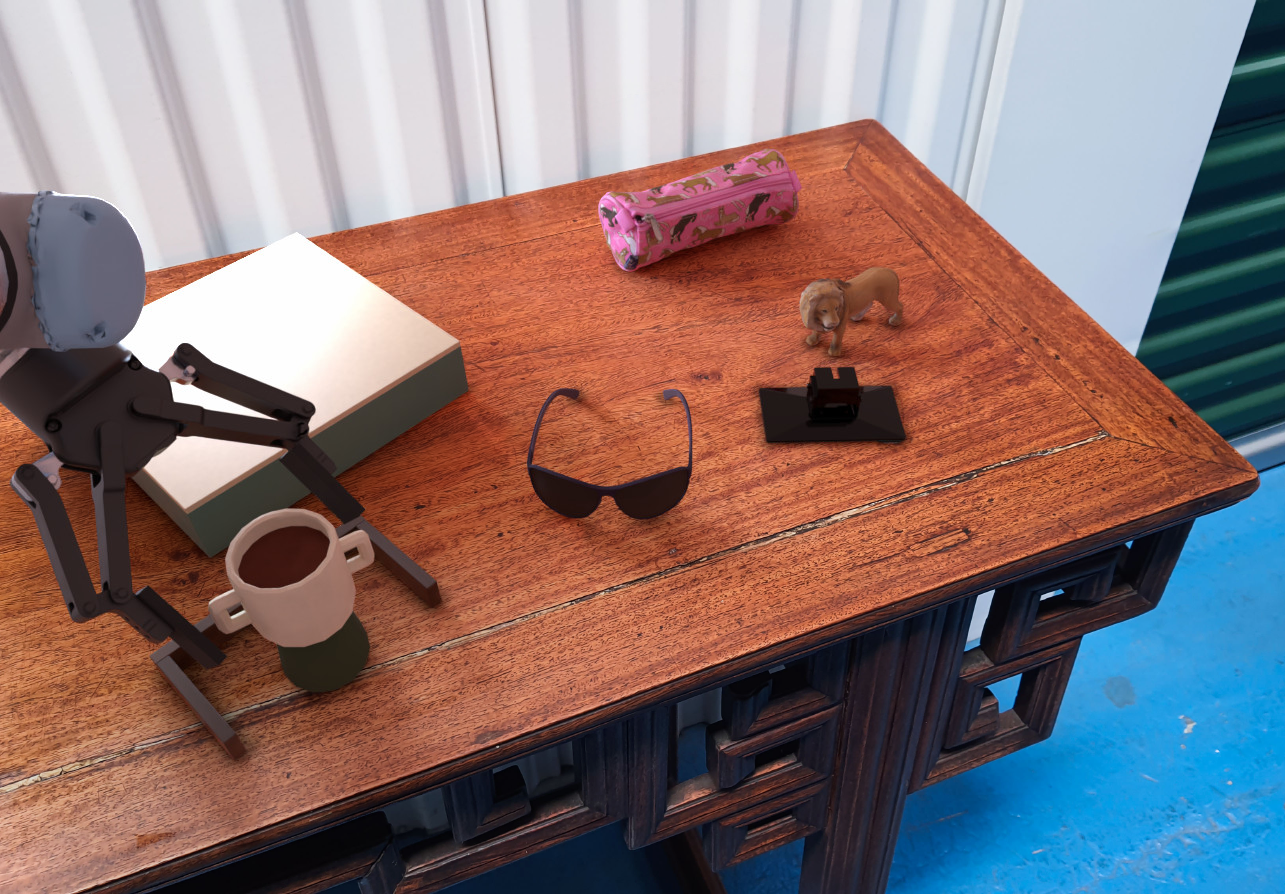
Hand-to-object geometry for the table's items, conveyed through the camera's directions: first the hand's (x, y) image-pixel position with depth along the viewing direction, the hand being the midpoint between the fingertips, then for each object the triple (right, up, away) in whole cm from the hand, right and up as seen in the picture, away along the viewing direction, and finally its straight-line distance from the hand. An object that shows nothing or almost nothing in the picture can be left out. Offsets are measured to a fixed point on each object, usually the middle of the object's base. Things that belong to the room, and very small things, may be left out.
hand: (290, 586), depth 67 cm
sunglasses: (+21, +8, +20) cm, 30 cm away
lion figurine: (+44, +20, +31) cm, 57 cm away
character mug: (+1, -6, +6) cm, 9 cm away
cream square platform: (-11, +14, +26) cm, 31 cm away
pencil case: (+30, +32, +43) cm, 61 cm away
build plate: (+41, +12, +23) cm, 49 cm away
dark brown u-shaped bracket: (-1, -5, +7) cm, 9 cm away
